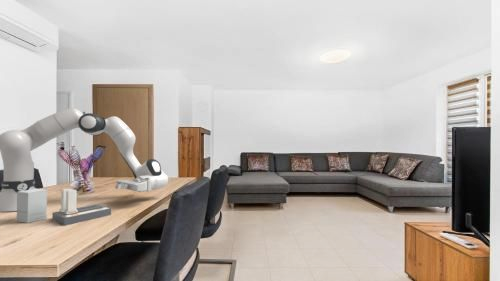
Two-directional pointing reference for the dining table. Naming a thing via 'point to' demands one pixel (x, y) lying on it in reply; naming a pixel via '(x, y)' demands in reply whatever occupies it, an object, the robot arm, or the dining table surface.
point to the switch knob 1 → (63, 199)
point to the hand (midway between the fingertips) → (116, 187)
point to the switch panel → (81, 214)
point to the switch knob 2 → (71, 202)
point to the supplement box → (31, 205)
